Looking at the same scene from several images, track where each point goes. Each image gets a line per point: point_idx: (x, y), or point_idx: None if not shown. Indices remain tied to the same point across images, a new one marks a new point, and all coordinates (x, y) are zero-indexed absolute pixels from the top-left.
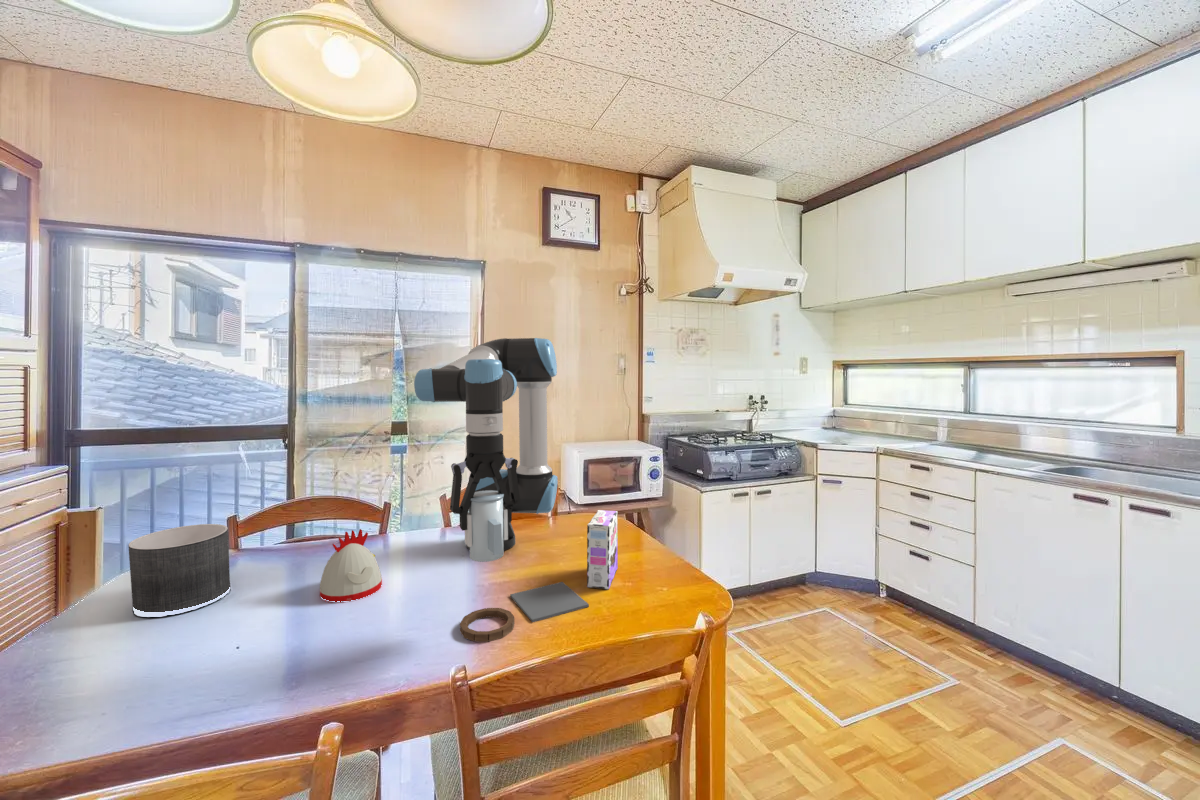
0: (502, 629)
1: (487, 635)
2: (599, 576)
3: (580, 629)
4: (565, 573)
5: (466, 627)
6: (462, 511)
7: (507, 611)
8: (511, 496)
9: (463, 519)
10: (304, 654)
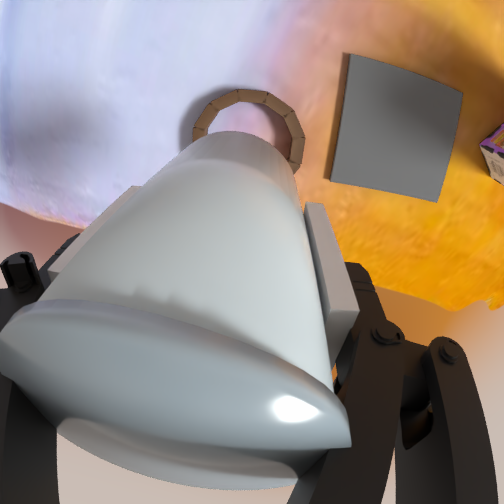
0: None
1: None
2: (500, 173)
3: (375, 248)
4: (485, 63)
5: None
6: None
7: (300, 135)
8: (430, 390)
9: None
10: (9, 91)
